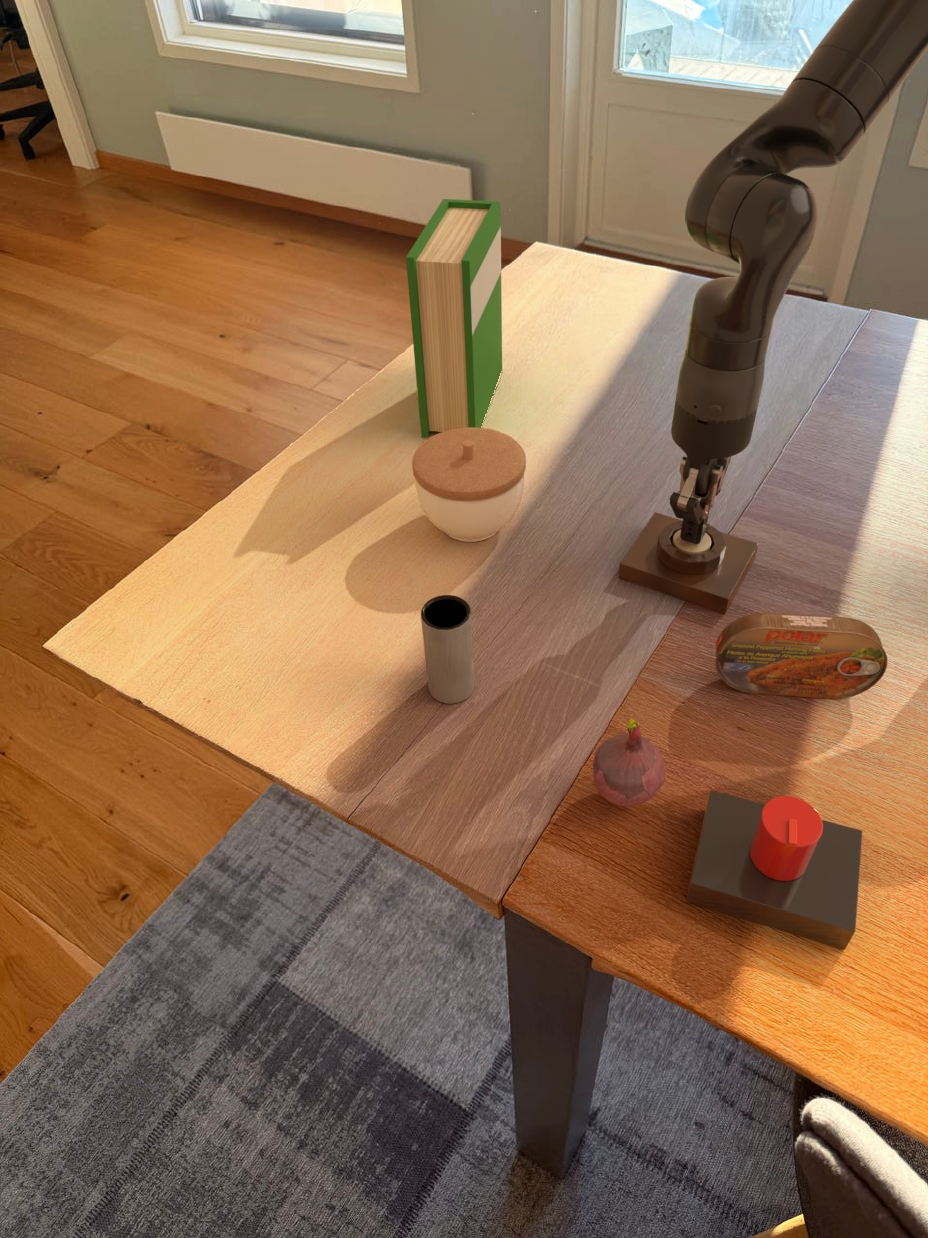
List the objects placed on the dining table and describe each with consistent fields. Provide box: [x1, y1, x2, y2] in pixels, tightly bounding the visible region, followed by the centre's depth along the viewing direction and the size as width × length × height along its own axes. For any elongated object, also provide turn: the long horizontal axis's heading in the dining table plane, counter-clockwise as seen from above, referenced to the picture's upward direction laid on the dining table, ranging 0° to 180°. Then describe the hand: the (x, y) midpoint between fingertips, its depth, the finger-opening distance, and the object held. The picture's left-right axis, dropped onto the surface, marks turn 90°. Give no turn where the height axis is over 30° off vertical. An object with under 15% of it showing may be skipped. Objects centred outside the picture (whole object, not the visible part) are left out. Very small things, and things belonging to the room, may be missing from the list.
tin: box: [715, 612, 888, 700], centre depth 84 cm, size 15×3×8 cm, turn 82°
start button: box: [672, 530, 711, 555], centre depth 97 cm, size 4×4×2 cm
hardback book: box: [405, 198, 503, 438], centre depth 117 cm, size 18×7×24 cm, turn 167°
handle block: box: [685, 789, 864, 951], centre depth 72 cm, size 12×9×3 cm
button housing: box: [617, 512, 759, 615], centre depth 98 cm, size 12×10×4 cm
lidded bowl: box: [411, 427, 527, 543], centre depth 103 cm, size 13×13×11 cm
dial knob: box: [750, 795, 823, 881], centre depth 69 cm, size 4×4×5 cm
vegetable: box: [592, 718, 666, 808], centre depth 75 cm, size 6×6×10 cm
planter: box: [420, 594, 475, 705], centre depth 85 cm, size 4×4×10 cm
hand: (691, 538), depth 97 cm, fingers closed
